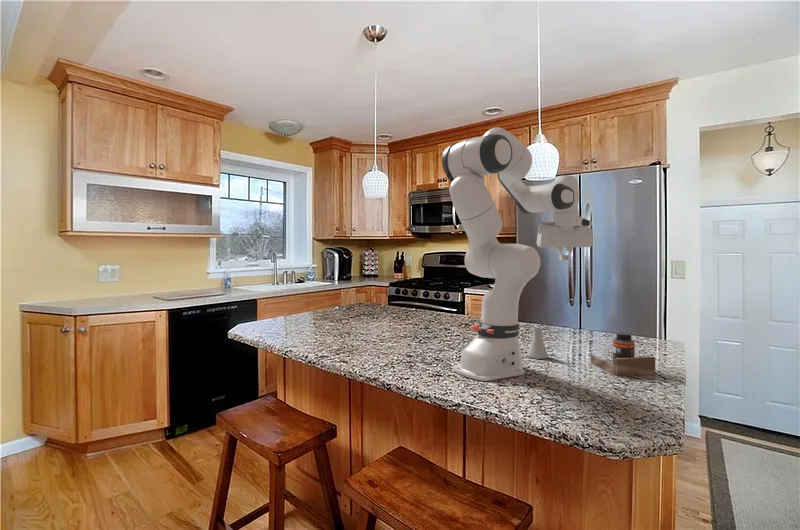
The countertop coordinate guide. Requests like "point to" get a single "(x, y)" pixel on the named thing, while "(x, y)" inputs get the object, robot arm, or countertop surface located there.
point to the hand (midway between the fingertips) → (564, 260)
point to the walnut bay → (627, 365)
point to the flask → (537, 345)
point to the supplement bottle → (623, 346)
